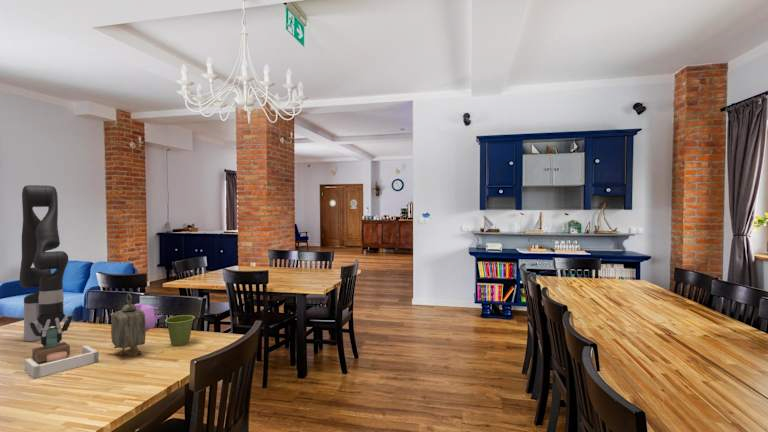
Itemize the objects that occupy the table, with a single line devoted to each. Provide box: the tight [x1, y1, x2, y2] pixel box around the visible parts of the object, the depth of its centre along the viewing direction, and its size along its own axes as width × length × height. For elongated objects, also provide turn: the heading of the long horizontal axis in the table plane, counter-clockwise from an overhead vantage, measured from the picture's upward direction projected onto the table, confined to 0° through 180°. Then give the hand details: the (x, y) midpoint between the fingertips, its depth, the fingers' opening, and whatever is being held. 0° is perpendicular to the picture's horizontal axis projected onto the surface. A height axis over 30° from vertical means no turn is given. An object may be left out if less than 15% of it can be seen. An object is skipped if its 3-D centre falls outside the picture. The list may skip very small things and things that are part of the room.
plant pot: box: [164, 314, 196, 347], centre depth 172 cm, size 12×12×11 cm
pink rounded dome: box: [46, 351, 68, 363], centre depth 150 cm, size 6×6×3 cm
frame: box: [24, 345, 100, 379], centre depth 146 cm, size 12×19×4 cm, turn 145°
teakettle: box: [110, 303, 162, 330], centre depth 195 cm, size 17×17×12 cm
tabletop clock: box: [110, 292, 147, 356], centre depth 159 cm, size 14×9×25 cm, turn 47°
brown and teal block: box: [31, 326, 71, 364], centre depth 153 cm, size 7×10×11 cm
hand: (51, 343), depth 153 cm, fingers closed on brown and teal block, 3 cm apart
